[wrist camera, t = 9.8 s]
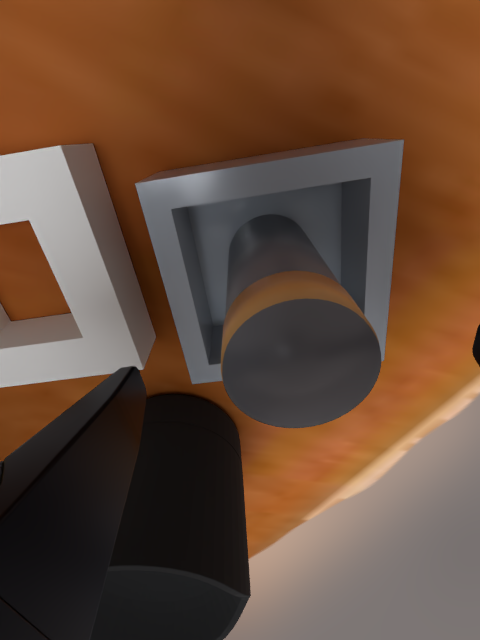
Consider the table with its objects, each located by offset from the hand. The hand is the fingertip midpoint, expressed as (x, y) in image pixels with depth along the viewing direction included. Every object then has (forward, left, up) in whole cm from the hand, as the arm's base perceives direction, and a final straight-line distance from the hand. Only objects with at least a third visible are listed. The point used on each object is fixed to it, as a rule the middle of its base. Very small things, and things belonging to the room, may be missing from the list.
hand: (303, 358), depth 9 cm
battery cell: (0, 0, -8) cm, 9 cm away
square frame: (-12, +1, -9) cm, 15 cm away
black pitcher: (-8, -13, -9) cm, 17 cm away
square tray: (0, 0, -9) cm, 9 cm away
